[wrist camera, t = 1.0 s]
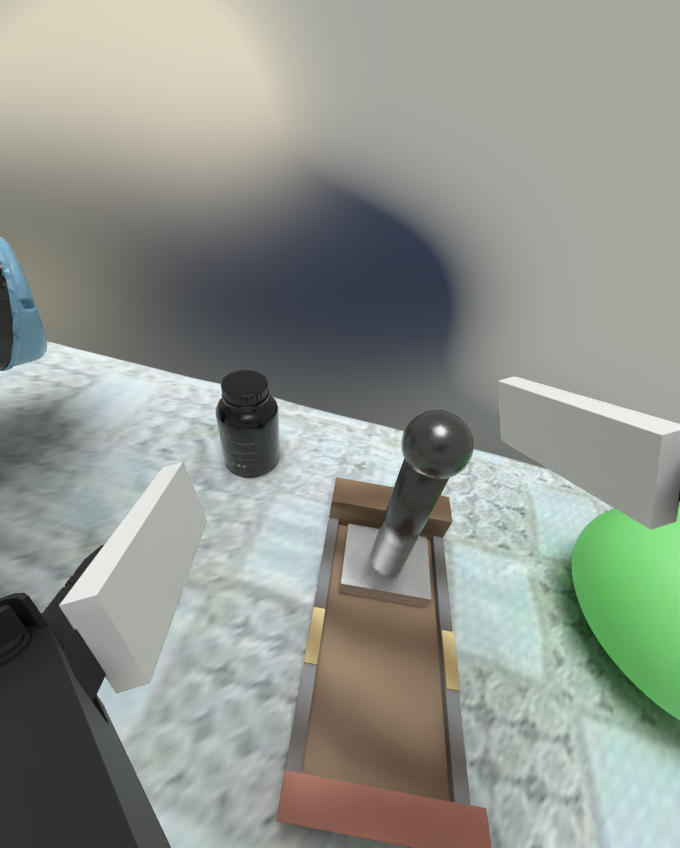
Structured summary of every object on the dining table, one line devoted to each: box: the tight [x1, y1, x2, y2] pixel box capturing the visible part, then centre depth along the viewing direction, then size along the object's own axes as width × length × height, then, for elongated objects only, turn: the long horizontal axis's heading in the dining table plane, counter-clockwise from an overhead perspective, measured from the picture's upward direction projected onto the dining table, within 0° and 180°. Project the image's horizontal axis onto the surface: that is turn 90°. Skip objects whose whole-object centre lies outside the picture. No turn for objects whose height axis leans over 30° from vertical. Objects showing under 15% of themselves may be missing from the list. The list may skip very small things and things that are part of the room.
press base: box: [276, 478, 491, 848], centre depth 29 cm, size 24×12×6 cm, turn 173°
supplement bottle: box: [216, 370, 279, 477], centre depth 40 cm, size 7×7×12 cm
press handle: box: [338, 410, 474, 608], centre depth 27 cm, size 6×8×20 cm
